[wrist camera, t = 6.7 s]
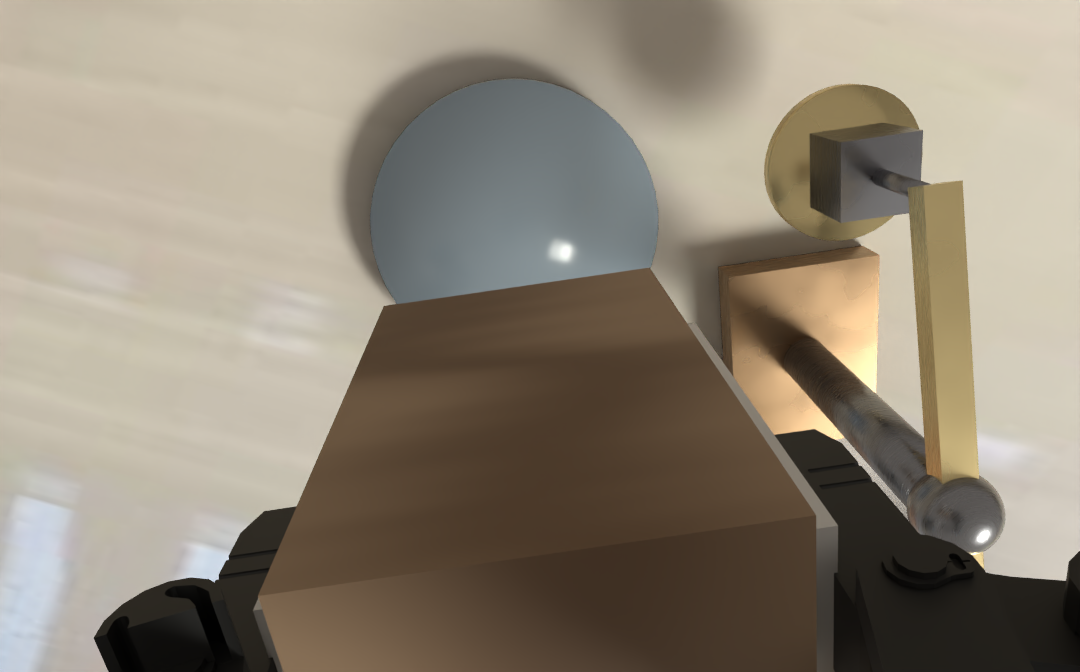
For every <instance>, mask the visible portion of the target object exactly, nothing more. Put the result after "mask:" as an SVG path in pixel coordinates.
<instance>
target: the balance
mask: <svg viewBox="0 0 1080 672" xmlns="http://www.w3.org/2000/svg"><path fill="white" fill-rule="evenodd" d="M922 140H923V130H919V128H918V125H917V122H916V120H915V118H914V116H913V115H912V113H911V112H910V110H909V109H908V108H907V106H906V105H905V104H904V103H903V102H902V101H901V100H899V99H898V98H897V97H896V96H894V95H893V94H891V93H889V92H887V91H885V90H882V89H880V88H877V87H872V86H868V85H859V84H841V85H835V86H831V87H827V88H824V89H822V90H819V91H817V92H815V93H813V94H811V95H809V96H808V97H806V98H805V99H803V100H802V101H800V102H799V103H798V104H797V105H795V106H794V107H793V108H792V109H791V110H790V111H789V112H788V113H787V114H786V116H785V117H784V118H783V119H782V121H781V122H780V124H779V125H778V127H777V128H776V130H775V132H774V134H773V136H772V138H771V141H770V143H769V146H768V150H767V153H766V158H765V167H764V176H765V185H766V189H767V193H768V196H769V198H770V201H771V203H772V205H773V206H774V208H775V210H776V211H777V212H778V214H779V215H780V216H781V217H782V218H783V219H784V220H785V221H786V222H787V223H788V224H790V225H791V226H793V227H794V228H796V229H797V230H799V231H800V232H802V233H804V234H806V235H808V236H811V237H814V238H817V239H822V240H829V241H840V240H848V239H853V238H857V237H860V236H863V235H865V234H867V233H869V232H872V231H874V230H875V229H877V228H879V227H880V226H882V225H883V224H884V223H886V222H887V221H888V220H889V219H891V218H892V217H893V216H894V215H899V214H906V213H909V215H910V230H911V245H912V260H913V275H914V290H915V305H916V320H917V334H918V349H919V364H920V379H921V394H922V409H923V424H924V438H923V437H922V436H921V435H920V434H919V433H918V432H917V431H916V430H915V429H914V428H913V427H911V426H910V425H909V424H908V423H907V422H906V421H905V420H904V419H903V418H902V417H901V416H900V415H898V414H897V413H896V412H895V411H894V410H893V409H892V408H891V407H890V406H889V405H888V404H886V403H885V402H884V401H883V400H882V399H881V398H880V397H879V396H878V395H877V394H876V372H877V332H878V293H879V255H878V254H876V253H875V252H873V251H871V250H869V249H867V248H866V247H864V246H857V247H851V248H844V249H837V250H830V251H823V252H817V253H810V254H803V255H796V256H790V257H783V258H776V259H769V260H762V261H756V262H749V263H742V264H735V265H728V266H722V267H718V274H719V292H720V311H721V329H722V348H723V363H724V364H725V366H726V367H727V369H728V370H729V371H730V373H731V374H732V376H733V377H734V379H735V380H736V381H737V383H738V384H739V386H740V387H741V389H742V390H743V391H744V393H745V394H746V396H747V397H748V398H749V400H750V401H751V403H752V404H753V406H754V407H755V408H756V410H757V411H758V413H759V414H760V416H761V417H762V418H763V420H764V421H765V423H766V424H767V425H768V427H769V428H770V430H771V431H772V433H773V434H774V435H776V434H783V433H790V432H797V431H804V430H811V429H816V430H818V431H819V432H821V433H823V434H825V435H827V436H829V437H831V438H833V439H842V438H846V439H847V441H848V442H849V443H850V444H851V445H852V446H853V447H854V448H855V450H856V451H857V452H858V453H859V454H860V455H861V456H862V458H863V459H864V460H865V461H866V462H867V463H868V464H869V465H870V467H871V468H872V469H873V470H874V471H875V472H876V473H877V474H878V476H879V477H880V478H881V479H882V480H883V481H884V482H885V483H886V485H887V486H888V487H889V488H890V489H891V490H892V491H893V493H894V494H895V495H896V496H897V497H898V498H899V499H900V500H901V502H902V503H903V504H904V505H905V506H906V507H907V515H908V519H909V522H910V523H911V525H912V526H913V527H914V528H915V529H916V530H917V532H918V533H919V534H922V535H930V536H933V537H936V538H939V539H942V540H945V541H948V542H951V543H953V544H955V545H957V546H958V547H960V548H961V549H963V550H965V551H966V552H968V553H969V554H971V555H972V556H973V557H974V558H975V559H976V560H977V562H978V563H979V564H980V565H981V566H982V568H983V569H984V559H983V551H985V550H987V549H988V548H990V547H991V546H992V545H993V544H994V543H995V542H996V541H997V540H998V539H999V537H1000V535H1001V533H1002V531H1003V528H1004V524H1005V509H1004V505H1003V502H1002V500H1001V498H1000V496H999V494H998V492H997V491H996V490H995V488H994V487H993V486H992V485H991V484H990V483H989V482H988V481H987V480H985V479H984V478H983V477H981V476H979V469H978V451H977V433H976V415H975V397H974V379H973V361H972V343H971V325H970V307H969V289H968V271H967V253H966V235H965V217H964V199H963V181H952V182H942V183H935V184H929V183H926V182H923V181H921V163H922Z"/></svg>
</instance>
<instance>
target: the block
mask: <svg viewBox="0 0 1080 672" xmlns="http://www.w3.org/2000/svg"><path fill="white" fill-rule="evenodd" d="M258 598H259V601H260V604H261V607H262V610H263V613H264V616H265V619H266V622H267V625H268V628H269V631H270V634H271V637H272V640H273V643H274V646H275V649H276V652H277V655H278V658H279V661H280V664H281V667H282V670H283V672H817V581H816V514H815V513H814V511H813V510H812V508H811V507H810V505H809V504H808V502H807V501H806V499H805V498H804V496H803V495H802V493H801V492H800V490H799V489H798V487H797V486H796V484H795V483H794V481H793V480H792V479H791V477H790V476H789V474H788V473H787V471H786V470H785V468H784V467H783V465H782V464H781V462H780V461H779V459H778V458H777V456H776V455H775V453H774V452H773V450H772V449H771V447H770V446H769V444H768V443H767V441H766V440H765V438H764V437H763V435H762V434H761V433H760V431H759V430H758V428H757V427H756V425H755V424H754V422H753V421H752V419H751V418H750V416H749V415H748V413H747V412H746V410H745V409H744V407H743V406H742V404H741V403H740V401H739V400H738V398H737V397H736V395H735V394H734V392H733V391H732V389H731V388H730V387H729V385H728V384H727V382H726V381H725V379H724V378H723V376H722V375H721V373H720V372H719V370H718V369H717V367H716V366H715V364H714V363H713V361H712V360H711V358H710V357H709V355H708V354H707V352H706V351H705V349H704V348H703V346H702V345H701V343H700V342H699V341H698V339H697V338H696V336H695V335H694V333H693V332H692V330H691V329H690V327H689V326H688V324H687V323H686V321H685V320H684V318H683V317H682V315H681V314H680V312H679V311H678V309H677V308H676V306H675V305H674V303H673V302H672V300H671V299H670V297H669V296H668V295H667V293H666V292H665V290H664V289H663V287H662V286H661V284H660V283H659V281H658V280H657V278H656V277H655V275H654V274H653V272H652V271H651V269H650V268H643V269H636V270H629V271H622V272H615V273H608V274H602V275H595V276H588V277H581V278H574V279H567V280H560V281H553V282H546V283H540V284H533V285H526V286H519V287H512V288H505V289H498V290H491V291H484V292H478V293H471V294H464V295H457V296H450V297H443V298H436V299H429V300H422V301H416V302H409V303H402V304H395V305H388V306H384V307H383V310H382V312H381V314H380V316H379V319H378V321H377V323H376V326H375V328H374V330H373V333H372V335H371V337H370V339H369V342H368V344H367V346H366V349H365V351H364V353H363V356H362V358H361V360H360V362H359V365H358V367H357V369H356V372H355V374H354V376H353V378H352V381H351V383H350V385H349V388H348V390H347V392H346V395H345V397H344V399H343V401H342V404H341V406H340V408H339V411H338V413H337V415H336V418H335V420H334V422H333V424H332V427H331V429H330V431H329V434H328V436H327V438H326V441H325V443H324V445H323V447H322V450H321V452H320V454H319V457H318V459H317V461H316V464H315V466H314V468H313V470H312V473H311V475H310V477H309V480H308V482H307V484H306V486H305V489H304V491H303V493H302V496H301V498H300V500H299V503H298V505H297V507H296V509H295V512H294V514H293V516H292V519H291V521H290V523H289V526H288V528H287V530H286V532H285V535H284V537H283V539H282V542H281V544H280V546H279V549H278V551H277V553H276V555H275V558H274V560H273V562H272V565H271V567H270V569H269V571H268V574H267V576H266V578H265V581H264V583H263V585H262V588H261V590H260V592H259V594H258Z"/></svg>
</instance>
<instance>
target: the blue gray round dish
mask: <svg viewBox="0 0 1080 672" xmlns="http://www.w3.org/2000/svg"><path fill="white" fill-rule="evenodd" d="M370 225H371V239H372V246H373V252H374V255H375V259H376V262H377V266H378V269H379V272H380V274H381V276H382V278H383V281H384V283H385V285H386V287H387V289H388V290H389V292H390V294H391V295H392V297H393V299H394V300H395V302H396V303H397V304H402V303H409V302H416V301H422V300H429V299H436V298H443V297H450V296H457V295H464V294H471V293H478V292H484V291H491V290H498V289H505V288H512V287H519V286H526V285H533V284H540V283H546V282H553V281H560V280H567V279H574V278H581V277H588V276H595V275H602V274H608V273H615V272H622V271H629V270H636V269H643V268H650V267H651V265H652V261H653V257H654V253H655V249H656V243H657V235H658V207H657V200H656V194H655V189H654V186H653V182H652V179H651V175H650V173H649V170H648V168H647V166H646V163H645V161H644V159H643V157H642V155H641V153H640V152H639V150H638V148H637V147H636V145H635V144H634V142H633V140H632V139H631V138H630V137H629V135H628V134H627V133H626V132H625V130H624V129H623V128H622V127H621V126H620V124H618V123H617V122H616V121H615V120H614V119H613V118H612V117H611V116H610V115H609V114H608V113H607V112H605V111H604V110H603V109H601V108H600V107H598V106H597V105H595V104H594V103H593V102H591V101H590V100H588V99H586V98H585V97H583V96H581V95H579V94H577V93H575V92H573V91H571V90H569V89H566V88H563V87H560V86H558V85H555V84H552V83H548V82H543V81H538V80H533V79H519V78H507V79H494V80H489V81H484V82H480V83H475V84H472V85H469V86H467V87H464V88H461V89H459V90H456V91H454V92H452V93H450V94H449V95H447V96H445V97H443V98H441V99H439V100H438V101H436V102H435V103H434V104H432V105H431V106H430V107H428V108H427V109H425V110H424V111H423V112H422V113H421V114H420V115H419V116H418V117H417V118H415V119H414V120H413V121H412V122H411V123H410V124H409V125H408V126H407V127H406V128H405V130H404V131H403V132H402V134H401V135H400V136H399V137H398V139H397V140H396V141H395V143H394V144H393V146H392V148H391V149H390V151H389V153H388V155H387V156H386V158H385V160H384V162H383V165H382V167H381V170H380V172H379V174H378V177H377V180H376V184H375V188H374V192H373V196H372V204H371V213H370Z"/></svg>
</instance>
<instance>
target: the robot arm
mask: <svg viewBox="0 0 1080 672" xmlns="http://www.w3.org/2000/svg"><path fill="white" fill-rule="evenodd" d="M688 326H689V327H690V329H691V330H692V332H693V333H694V335H695V336H696V338H697V339H698V341H699V342H700V343H701V345H702V346H703V348H704V349H705V351H706V352H707V354H708V355H709V357H710V358H711V360H712V361H713V363H714V364H715V366H716V367H717V369H718V370H719V372H720V373H721V375H722V376H723V378H724V379H725V381H726V382H727V384H728V385H729V387H730V388H731V389H732V391H733V392H734V394H735V395H736V397H737V398H738V400H739V401H740V403H741V404H742V406H743V407H744V409H745V410H746V412H747V413H748V415H749V416H750V418H751V419H752V421H753V422H754V424H755V425H756V427H757V428H758V430H759V431H760V433H761V434H762V435H763V437H764V438H765V440H766V441H767V443H768V444H769V446H770V447H771V449H772V450H773V452H774V453H775V455H776V456H777V458H778V459H779V461H780V462H781V464H782V465H783V467H784V468H785V470H786V471H787V473H788V474H789V476H790V477H791V479H792V480H793V481H794V483H795V484H796V486H797V487H798V489H799V490H800V492H801V493H802V495H803V496H804V498H805V499H806V501H807V502H808V504H809V505H810V507H811V508H812V510H813V511H814V513H815V514H816V581H817V672H1080V551H1079V552H1078V553H1077V554H1076V555H1075V556H1074V557H1073V558H1072V559H1071V560H1070V561H1069V565H1068V572H1067V579H1066V581H1059V580H1046V579H1033V578H1020V577H1009V576H1002V575H995V574H989V573H986V572H985V570H984V569H983V568H982V566H981V565H980V564H979V563H978V562H977V560H976V559H975V558H974V557H973V556H972V555H971V554H969V553H968V552H966V551H965V550H963V549H961V548H960V547H958V546H957V545H955V544H953V543H951V542H948V541H945V540H942V539H939V538H936V537H933V536H930V535H922V534H919V533H918V532H917V530H916V529H915V528H914V527H913V526H912V525H911V523H910V522H909V521H908V520H907V519H906V518H905V516H904V515H903V514H902V513H901V512H900V511H899V509H898V508H897V507H896V506H895V505H894V504H893V502H892V501H891V500H890V499H889V498H888V497H887V495H886V494H885V493H884V492H883V491H882V490H881V489H880V487H879V486H878V485H877V484H876V483H875V482H872V480H871V477H870V476H869V475H868V473H867V472H866V471H865V470H864V469H863V468H862V466H859V465H858V462H857V461H856V459H855V458H854V457H853V456H852V455H851V454H850V452H849V451H848V450H847V449H846V448H845V447H844V445H843V444H842V443H840V442H838V441H836V440H835V439H833V438H831V437H829V436H827V435H825V434H823V433H821V432H819V431H818V430H816V429H811V430H804V431H797V432H790V433H783V434H776V435H774V434H773V433H772V431H771V430H770V428H769V427H768V425H767V424H766V423H765V421H764V420H763V418H762V417H761V416H760V414H759V413H758V411H757V410H756V408H755V407H754V406H753V404H752V403H751V401H750V400H749V398H748V397H747V396H746V394H745V393H744V391H743V390H742V389H741V387H740V386H739V384H738V383H737V381H736V380H735V379H734V377H733V376H732V374H731V373H730V371H729V370H728V369H727V367H726V366H725V364H724V363H723V362H722V360H721V359H720V357H719V356H718V354H717V353H716V352H715V350H714V349H713V347H712V346H711V345H710V343H709V342H708V340H707V339H706V337H705V336H704V335H703V333H702V332H701V330H700V329H699V327H698V326H697V325H696V323H690V324H688ZM295 509H296V507H290V508H283V509H277V510H270V511H264V512H263V513H262V514H261V515H260V516H259V517H258V518H257V519H255V520H254V521H253V522H252V523H251V524H250V525H249V526H248V527H247V528H246V529H245V530H244V531H242V532H241V534H240V535H239V537H238V539H237V541H236V543H235V545H234V547H233V549H232V551H231V553H230V554H229V560H227V561H226V562H225V564H224V566H223V568H222V570H221V572H220V573H219V580H216V581H215V583H214V582H212V581H211V580H209V579H200V578H186V579H181V580H175V581H169V582H166V583H164V584H161V585H159V586H156V587H154V588H151V589H148V590H146V591H144V592H142V593H140V594H139V595H137V596H135V597H134V598H132V599H131V600H129V601H127V602H126V603H124V604H122V605H121V606H120V607H119V608H118V609H117V610H116V611H115V612H113V613H112V614H111V615H110V616H109V617H108V618H107V619H106V620H105V621H104V622H103V624H102V625H101V627H100V629H99V630H98V632H97V633H96V635H95V637H94V640H95V642H96V644H97V647H98V649H99V651H100V653H101V656H102V658H103V660H104V662H105V665H106V667H107V669H108V671H109V672H283V670H282V667H281V664H280V661H279V658H278V655H277V652H276V649H275V646H274V643H273V640H272V637H271V634H270V631H269V628H268V625H267V622H266V619H265V616H264V613H263V610H262V607H261V604H260V601H259V598H258V594H259V592H260V590H261V588H262V585H263V583H264V581H265V578H266V576H267V574H268V571H269V569H270V567H271V565H272V562H273V560H274V558H275V555H276V553H277V551H278V549H279V546H280V544H281V542H282V539H283V537H284V535H285V532H286V530H287V528H288V526H289V523H290V521H291V519H292V516H293V514H294V512H295Z"/></svg>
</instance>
